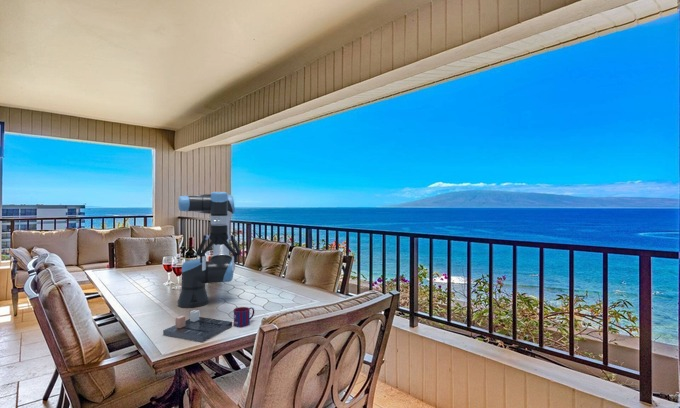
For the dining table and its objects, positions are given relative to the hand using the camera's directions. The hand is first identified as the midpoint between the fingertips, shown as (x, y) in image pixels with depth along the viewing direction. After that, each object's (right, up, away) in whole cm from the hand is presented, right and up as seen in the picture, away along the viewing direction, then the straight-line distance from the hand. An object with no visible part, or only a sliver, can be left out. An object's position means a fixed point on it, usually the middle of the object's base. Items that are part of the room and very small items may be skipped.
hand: (218, 270), depth 158 cm
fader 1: (-10, -20, -17) cm, 28 cm away
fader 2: (-7, -20, -10) cm, 23 cm away
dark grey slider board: (-3, -23, -15) cm, 28 cm away
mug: (+14, -23, -7) cm, 28 cm away
